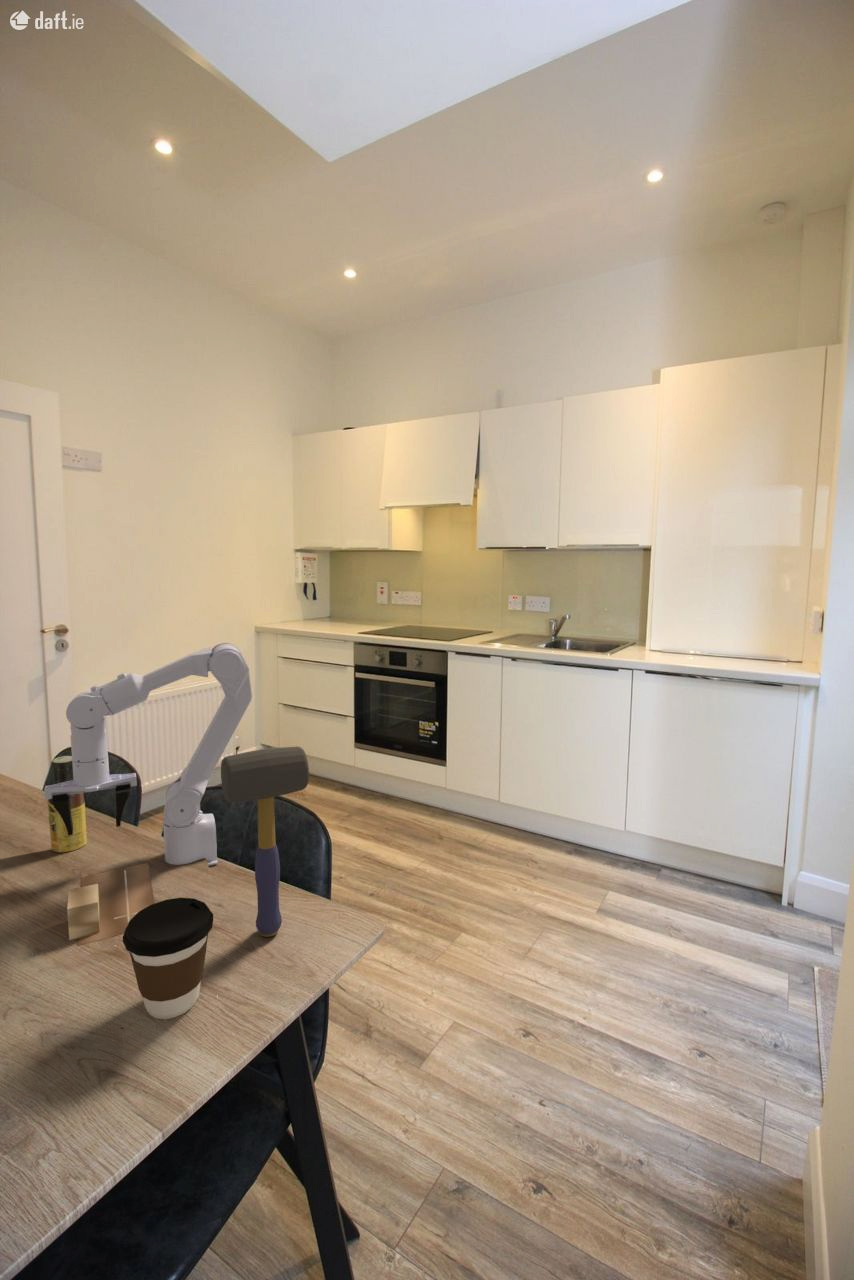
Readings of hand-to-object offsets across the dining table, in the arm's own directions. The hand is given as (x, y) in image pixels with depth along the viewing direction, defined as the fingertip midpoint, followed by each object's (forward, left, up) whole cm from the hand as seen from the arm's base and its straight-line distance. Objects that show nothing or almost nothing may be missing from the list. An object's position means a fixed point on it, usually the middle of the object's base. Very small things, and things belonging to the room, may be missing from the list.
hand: (94, 828), depth 108 cm
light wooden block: (+2, +19, -9) cm, 21 cm away
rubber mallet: (-24, +32, -10) cm, 41 cm away
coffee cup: (-9, +41, -10) cm, 43 cm away
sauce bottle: (+5, -13, -10) cm, 17 cm away
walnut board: (-3, +13, -9) cm, 16 cm away
